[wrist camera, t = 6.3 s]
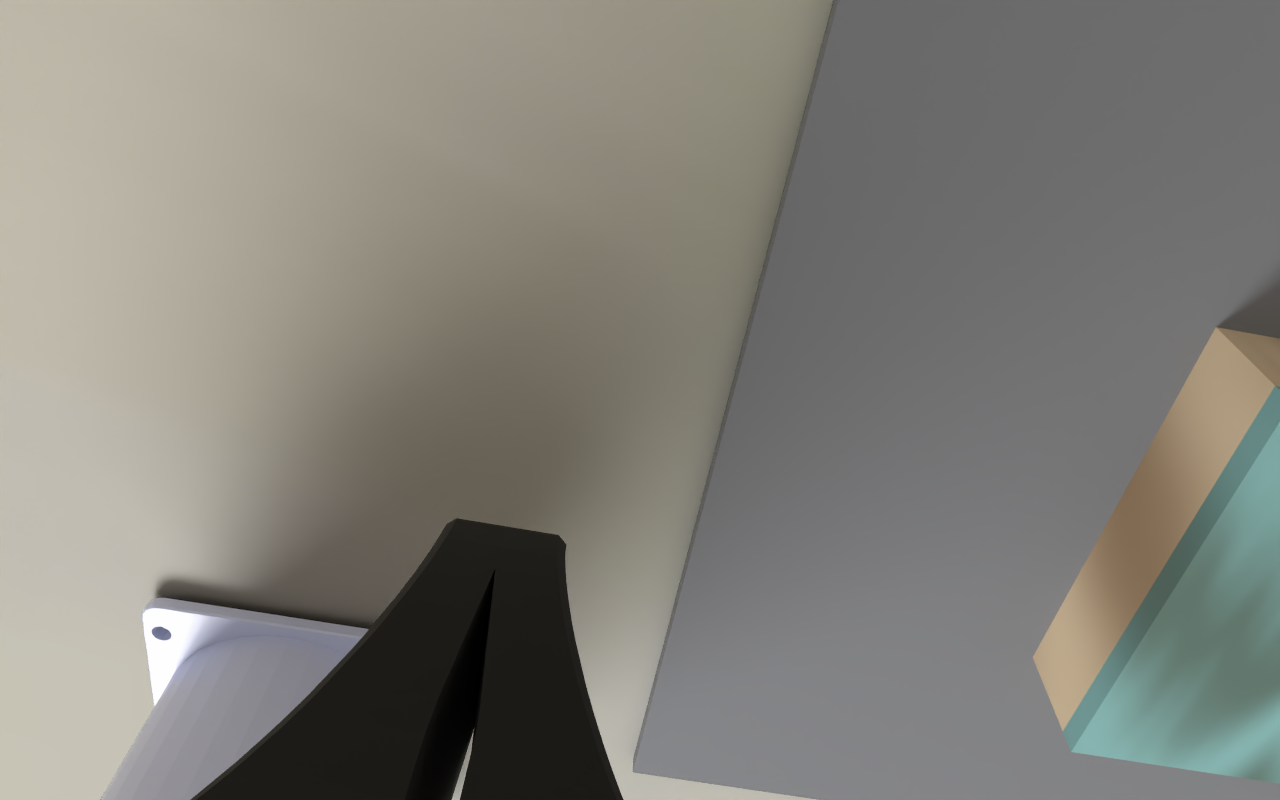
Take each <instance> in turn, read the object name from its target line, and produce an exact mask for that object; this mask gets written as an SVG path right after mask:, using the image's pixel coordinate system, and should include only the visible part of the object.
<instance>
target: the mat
mask: <svg viewBox="0 0 1280 800" xmlns="http://www.w3.org/2000/svg"><path fill="white" fill-rule="evenodd" d="M1216 327H1218V328H1224V329H1229V330H1235V331H1240V332H1246V333H1251V334H1257V335H1262V336H1268V337H1274V338H1279V339H1280V0H834V2H833V5H832V9H831V13H830V17H829V21H828V24H827V28H826V32H825V36H824V39H823V43H822V47H821V51H820V55H819V58H818V62H817V66H816V70H815V74H814V77H813V81H812V85H811V89H810V92H809V96H808V100H807V104H806V108H805V111H804V115H803V119H802V123H801V126H800V130H799V134H798V138H797V142H796V145H795V149H794V153H793V157H792V161H791V164H790V168H789V172H788V176H787V179H786V183H785V187H784V191H783V195H782V198H781V202H780V206H779V210H778V214H777V217H776V221H775V225H774V229H773V232H772V236H771V240H770V244H769V248H768V251H767V255H766V259H765V263H764V266H763V270H762V274H761V278H760V282H759V285H758V289H757V293H756V297H755V301H754V304H753V308H752V312H751V316H750V319H749V323H748V327H747V331H746V335H745V338H744V342H743V346H742V350H741V353H740V357H739V361H738V365H737V369H736V372H735V376H734V380H733V384H732V388H731V391H730V395H729V399H728V403H727V406H726V410H725V414H724V418H723V422H722V425H721V429H720V433H719V437H718V440H717V444H716V448H715V452H714V456H713V459H712V463H711V467H710V471H709V475H708V478H707V482H706V486H705V490H704V493H703V497H702V501H701V505H700V509H699V512H698V516H697V520H696V524H695V527H694V531H693V535H692V539H691V543H690V546H689V550H688V554H687V558H686V562H685V565H684V569H683V573H682V577H681V580H680V584H679V588H678V592H677V596H676V599H675V603H674V607H673V611H672V615H671V618H670V622H669V626H668V630H667V633H666V637H665V641H664V645H663V649H662V652H661V656H660V660H659V664H658V667H657V671H656V675H655V679H654V683H653V686H652V690H651V694H650V698H649V702H648V705H647V709H646V713H645V717H644V720H643V724H642V728H641V732H640V736H639V739H638V743H637V747H636V751H635V754H634V759H633V772H635V773H641V774H648V775H655V776H662V777H669V778H675V779H682V780H689V781H696V782H703V783H709V784H716V785H723V786H730V787H737V788H744V789H750V790H757V791H764V792H771V793H778V794H784V795H791V796H798V797H805V798H812V799H818V800H1280V784H1278V783H1272V782H1265V781H1258V780H1252V779H1245V778H1239V777H1232V776H1226V775H1219V774H1212V773H1206V772H1199V771H1193V770H1186V769H1180V768H1173V767H1166V766H1160V765H1153V764H1147V763H1140V762H1134V761H1127V760H1120V759H1114V758H1107V757H1101V756H1094V755H1088V754H1081V753H1074V752H1071V751H1070V748H1069V746H1068V743H1067V741H1066V738H1065V736H1064V733H1063V731H1062V728H1061V726H1060V723H1059V721H1058V718H1057V716H1056V714H1055V711H1054V709H1053V706H1052V704H1051V701H1050V699H1049V696H1048V694H1047V691H1046V689H1045V686H1044V684H1043V682H1042V679H1041V677H1040V674H1039V672H1038V669H1037V667H1036V664H1035V662H1034V659H1033V656H1034V654H1035V652H1036V650H1037V648H1038V647H1039V645H1040V643H1041V641H1042V639H1043V638H1044V636H1045V634H1046V632H1047V630H1048V629H1049V627H1050V625H1051V623H1052V621H1053V620H1054V618H1055V616H1056V614H1057V612H1058V611H1059V609H1060V607H1061V605H1062V603H1063V602H1064V600H1065V598H1066V596H1067V594H1068V593H1069V591H1070V589H1071V587H1072V585H1073V584H1074V582H1075V580H1076V578H1077V576H1078V575H1079V573H1080V571H1081V569H1082V567H1083V566H1084V564H1085V562H1086V560H1087V558H1088V557H1089V555H1090V553H1091V551H1092V549H1093V548H1094V546H1095V544H1096V542H1097V540H1098V539H1099V537H1100V535H1101V533H1102V531H1103V530H1104V528H1105V526H1106V524H1107V522H1108V521H1109V519H1110V517H1111V515H1112V513H1113V512H1114V510H1115V508H1116V506H1117V504H1118V503H1119V501H1120V499H1121V497H1122V495H1123V494H1124V492H1125V490H1126V488H1127V486H1128V485H1129V483H1130V481H1131V479H1132V477H1133V476H1134V474H1135V472H1136V470H1137V468H1138V467H1139V465H1140V463H1141V461H1142V459H1143V458H1144V456H1145V454H1146V452H1147V450H1148V449H1149V447H1150V445H1151V443H1152V441H1153V440H1154V438H1155V436H1156V434H1157V432H1158V431H1159V429H1160V427H1161V425H1162V423H1163V422H1164V420H1165V418H1166V416H1167V414H1168V413H1169V411H1170V409H1171V407H1172V405H1173V404H1174V402H1175V400H1176V398H1177V396H1178V395H1179V393H1180V391H1181V389H1182V387H1183V386H1184V384H1185V382H1186V380H1187V378H1188V377H1189V375H1190V373H1191V371H1192V369H1193V368H1194V366H1195V364H1196V362H1197V360H1198V359H1199V357H1200V355H1201V353H1202V351H1203V350H1204V348H1205V346H1206V344H1207V342H1208V341H1209V339H1210V337H1211V335H1212V333H1213V332H1214V330H1215V328H1216Z"/></svg>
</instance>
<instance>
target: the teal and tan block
mask: <svg viewBox="0 0 1280 800" xmlns="http://www.w3.org/2000/svg"><path fill="white" fill-rule="evenodd" d="M1033 659H1034V662H1035V664H1036V667H1037V669H1038V672H1039V674H1040V677H1041V679H1042V682H1043V684H1044V686H1045V689H1046V691H1047V694H1048V696H1049V699H1050V701H1051V704H1052V706H1053V709H1054V711H1055V714H1056V716H1057V718H1058V721H1059V723H1060V726H1061V728H1062V731H1063V733H1064V736H1065V738H1066V741H1067V743H1068V746H1069V748H1070V751H1071V752H1074V753H1081V754H1088V755H1094V756H1101V757H1107V758H1114V759H1120V760H1127V761H1134V762H1140V763H1147V764H1153V765H1160V766H1166V767H1173V768H1180V769H1186V770H1193V771H1199V772H1206V773H1212V774H1219V775H1226V776H1232V777H1239V778H1245V779H1252V780H1258V781H1265V782H1272V783H1278V784H1280V339H1279V338H1274V337H1268V336H1262V335H1257V334H1251V333H1246V332H1240V331H1235V330H1229V329H1224V328H1218V327H1216V328H1215V330H1214V332H1213V333H1212V335H1211V337H1210V339H1209V341H1208V342H1207V344H1206V346H1205V348H1204V350H1203V351H1202V353H1201V355H1200V357H1199V359H1198V360H1197V362H1196V364H1195V366H1194V368H1193V369H1192V371H1191V373H1190V375H1189V377H1188V378H1187V380H1186V382H1185V384H1184V386H1183V387H1182V389H1181V391H1180V393H1179V395H1178V396H1177V398H1176V400H1175V402H1174V404H1173V405H1172V407H1171V409H1170V411H1169V413H1168V414H1167V416H1166V418H1165V420H1164V422H1163V423H1162V425H1161V427H1160V429H1159V431H1158V432H1157V434H1156V436H1155V438H1154V440H1153V441H1152V443H1151V445H1150V447H1149V449H1148V450H1147V452H1146V454H1145V456H1144V458H1143V459H1142V461H1141V463H1140V465H1139V467H1138V468H1137V470H1136V472H1135V474H1134V476H1133V477H1132V479H1131V481H1130V483H1129V485H1128V486H1127V488H1126V490H1125V492H1124V494H1123V495H1122V497H1121V499H1120V501H1119V503H1118V504H1117V506H1116V508H1115V510H1114V512H1113V513H1112V515H1111V517H1110V519H1109V521H1108V522H1107V524H1106V526H1105V528H1104V530H1103V531H1102V533H1101V535H1100V537H1099V539H1098V540H1097V542H1096V544H1095V546H1094V548H1093V549H1092V551H1091V553H1090V555H1089V557H1088V558H1087V560H1086V562H1085V564H1084V566H1083V567H1082V569H1081V571H1080V573H1079V575H1078V576H1077V578H1076V580H1075V582H1074V584H1073V585H1072V587H1071V589H1070V591H1069V593H1068V594H1067V596H1066V598H1065V600H1064V602H1063V603H1062V605H1061V607H1060V609H1059V611H1058V612H1057V614H1056V616H1055V618H1054V620H1053V621H1052V623H1051V625H1050V627H1049V629H1048V630H1047V632H1046V634H1045V636H1044V638H1043V639H1042V641H1041V643H1040V645H1039V647H1038V648H1037V650H1036V652H1035V654H1034V656H1033Z"/></svg>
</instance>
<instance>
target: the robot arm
mask: <svg viewBox="0 0 1280 800" xmlns="http://www.w3.org/2000/svg"><path fill="white" fill-rule="evenodd" d="M565 550H566V544H565V543H564V541H563V540H562V539H561V538H560V536H559V535H554V534H548V533H542V532H536V531H530V530H524V529H517V528H511V527H505V526H499V525H493V524H487V523H481V522H475V521H469V520H462V519H455V520H453V521H452V522H450V523H448V524H446V526H445V528H444V529H443V531H442V533H441V535H440V536H439V538H438V540H437V541H436V543H435V544H434V546H433V547H432V549H431V550H430V552H429V553H428V555H427V556H426V558H425V559H424V561H423V562H422V563H421V565H420V566H419V568H418V569H417V570H416V572H415V573H414V574H413V576H412V577H411V578H410V580H409V581H408V582H407V583H406V585H405V586H404V587H403V589H402V590H401V591H400V593H399V594H398V595H397V596H396V598H395V599H394V600H393V601H392V602H391V604H390V605H389V606H388V607H387V608H386V610H385V611H384V612H383V613H382V614H381V616H380V617H379V618H378V619H377V620H376V622H375V623H374V624H373V625H372V626H371V627H370V629H365V628H359V627H352V626H346V625H339V624H333V623H326V622H320V621H313V620H307V619H300V618H293V617H287V616H280V615H274V614H267V613H261V612H254V611H248V610H241V609H235V608H228V607H222V606H215V605H209V604H202V603H196V602H189V601H183V600H176V599H169V598H155V599H152V600H151V601H150V602H149V603H148V604H147V606H146V607H145V609H144V610H143V612H142V620H143V628H144V635H145V642H146V650H147V657H148V664H149V672H150V679H151V687H152V694H153V701H154V709H153V710H152V712H151V714H150V715H149V717H148V719H147V720H146V722H145V724H144V726H143V727H142V729H141V731H140V732H139V734H138V736H137V738H136V739H135V741H134V743H133V744H132V746H131V748H130V750H129V751H128V753H127V755H126V756H125V758H124V760H123V762H122V763H121V765H120V767H119V768H118V770H117V772H116V774H115V775H114V777H113V779H112V780H111V782H110V784H109V785H108V787H107V789H106V791H105V792H104V794H103V796H102V797H101V799H100V800H451V799H452V796H453V793H454V790H455V787H456V784H457V780H458V777H459V774H460V771H461V768H462V765H463V761H464V758H465V755H466V752H467V749H468V746H469V742H470V739H471V736H472V733H473V730H474V735H473V743H472V752H471V756H470V760H469V764H468V769H467V773H466V777H465V781H464V785H463V789H462V793H461V798H460V800H623V798H622V795H621V793H620V790H619V787H618V785H617V782H616V779H615V777H614V774H613V771H612V768H611V765H610V762H609V760H608V757H607V754H606V751H605V748H604V745H603V742H602V738H601V735H600V732H599V729H598V726H597V722H596V719H595V716H594V713H593V709H592V706H591V702H590V699H589V695H588V691H587V688H586V684H585V680H584V675H583V671H582V667H581V663H580V659H579V654H578V650H577V646H576V642H575V636H574V631H573V626H572V621H571V614H570V608H569V601H568V594H567V584H566V572H565ZM163 627H164V628H163ZM165 628H166V629H165Z"/></svg>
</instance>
